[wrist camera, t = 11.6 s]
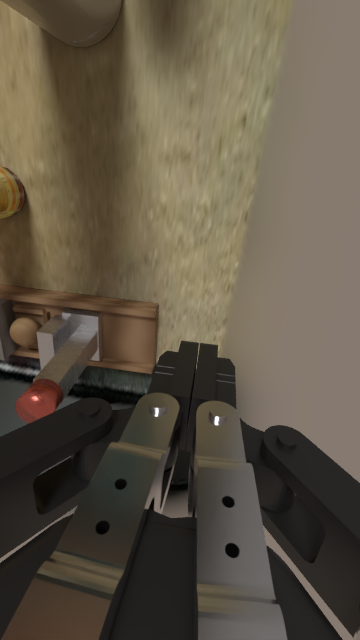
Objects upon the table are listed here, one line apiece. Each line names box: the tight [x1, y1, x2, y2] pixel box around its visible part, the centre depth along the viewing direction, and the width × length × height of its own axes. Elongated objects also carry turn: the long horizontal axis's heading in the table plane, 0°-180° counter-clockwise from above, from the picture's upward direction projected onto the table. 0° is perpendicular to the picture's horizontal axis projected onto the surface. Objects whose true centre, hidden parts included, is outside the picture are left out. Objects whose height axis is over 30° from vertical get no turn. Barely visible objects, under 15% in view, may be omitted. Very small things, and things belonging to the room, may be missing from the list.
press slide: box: [15, 308, 103, 423], centre depth 41 cm, size 6×7×16 cm
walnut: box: [10, 317, 41, 345], centre depth 48 cm, size 4×4×4 cm
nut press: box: [0, 285, 158, 374], centre depth 48 cm, size 24×10×6 cm, turn 86°
